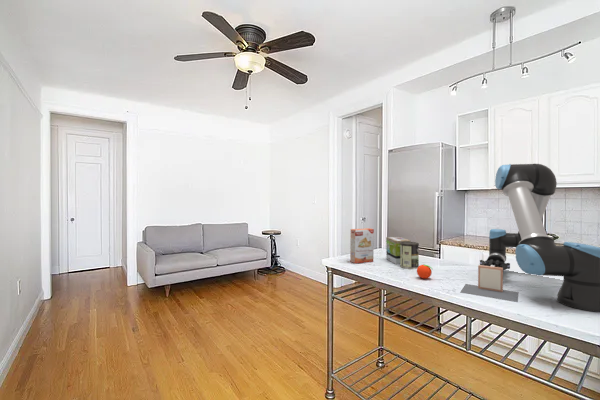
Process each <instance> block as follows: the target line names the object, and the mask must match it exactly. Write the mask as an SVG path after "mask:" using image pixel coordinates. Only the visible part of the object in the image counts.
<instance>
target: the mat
mask: <svg viewBox="0 0 600 400" xmlns="http://www.w3.org/2000/svg"><path fill="white" fill-rule="evenodd" d="M459 293H462V294H466V295H474V296H479V297H484V298H491V299H497V300H501V301H507V302H513V303H519V291H514V290H509V289H503V292H499V291H493V290H487V289H480V288H478V285H475V284H471V283H470V284H468V283H465V284H464V285H463V287H462V289H461V290H460V292H459Z"/></svg>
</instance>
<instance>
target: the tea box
mask: <svg viewBox="0 0 600 400" xmlns="http://www.w3.org/2000/svg"><path fill="white" fill-rule="evenodd" d="M385 238H386V240H385V242H386V245H385V247H386V248H385V249H386V251H385V253H386V258H385V259H387V261H389V262H392V263H393V264H395V265H400V242H412V241H411V240H410V239H407V238H404V237H401V236H388V237H387V236H386V237H385Z"/></svg>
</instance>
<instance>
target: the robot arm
mask: <svg viewBox="0 0 600 400" xmlns="http://www.w3.org/2000/svg"><path fill="white" fill-rule="evenodd" d="M494 182H495V185H494V186H495V189H497V190H502V193H503V194H504V195H505V196H506V197H508V199H509V203H510V206H511V211H512V212H513V216H514V219H515V221H516V226H517V229H518V231H517V232H515V233H513V232H507V231H506V229H504V228H503V229H501V228H491V229H490V230H489V233H488V234H489V237H488V239H489V241H488V245H489V246H488V247H489V251H488V254H489V256H488V257H487V258H486V260H483V259H480V260H479V265H484V266H492V267H501V268H503V272H504V271H506V270H509V269H511V263H509V262H506V261H507V254H506V253H507V248H515V252H514V253H515V261H516V262H517V266H518V267H519V268H520V270H521V271H522V272H524V273H525V274H527V275H534V276H537V277H539V276H548V277H549V276H550V277H551V276H552V277H563V281H562V283H561V286H560V288H559V291H558V293H557V295H556V296H557V297H556V298H557V302H558V303H560V304H562V305H564V306H567V307H570V308H574V309H577V310H582V311H583V310H584V311H589V312H594V313H595V312H598V313H600V246H596V245H591V244H586V243H580V242H572V241H564V242H563V244H562V245H556V243H555V239H554V238H553V237H551V236H548V235H547V232H546V229H545V225H544V224H543V221H542V220H543V217H544V215H545V212H546V209H547V206H548V204H549V201H550V198H551V196H553V195H554V194H555V193H556V190H557V185H558V184H557V178H556V175H555V173H554V172H553V170H552V169H551V168H549V167H548V166H547V165H544V164H542V163H520V164H519V163H518V164H517V163H516V164H515V163H514V164H511V163H509V164H502V165H500V166H499V167H498V168H497V171H496V174H495V181H494Z"/></svg>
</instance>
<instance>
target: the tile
mask: <svg viewBox="0 0 600 400" xmlns="http://www.w3.org/2000/svg"><path fill="white" fill-rule="evenodd" d="M477 267H478V269H477V270H478V271H477V272H478V273H477V277H478V278H477V279H478V280H477V282H478V283H477V286H478V288H480V289H487V290H493V291H499V292H503V290H504V271H503V268H501V267H492V266H484V265H480V264H478V266H477Z"/></svg>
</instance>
